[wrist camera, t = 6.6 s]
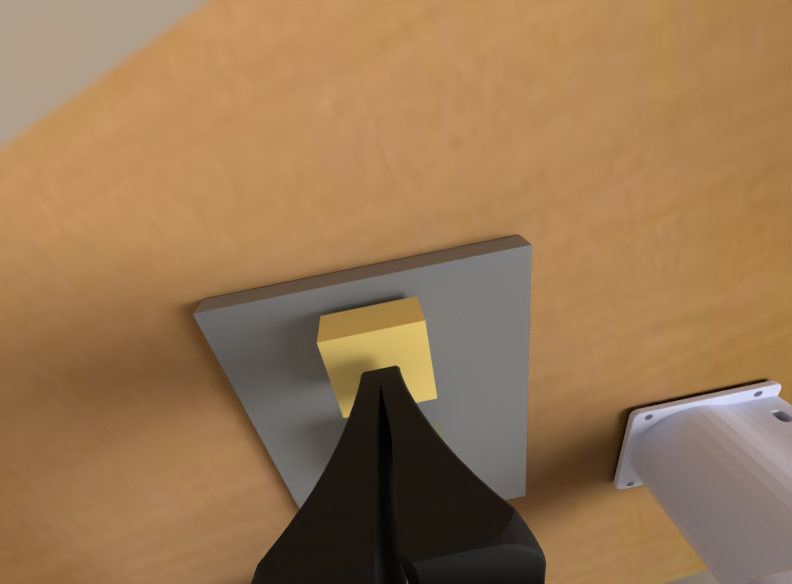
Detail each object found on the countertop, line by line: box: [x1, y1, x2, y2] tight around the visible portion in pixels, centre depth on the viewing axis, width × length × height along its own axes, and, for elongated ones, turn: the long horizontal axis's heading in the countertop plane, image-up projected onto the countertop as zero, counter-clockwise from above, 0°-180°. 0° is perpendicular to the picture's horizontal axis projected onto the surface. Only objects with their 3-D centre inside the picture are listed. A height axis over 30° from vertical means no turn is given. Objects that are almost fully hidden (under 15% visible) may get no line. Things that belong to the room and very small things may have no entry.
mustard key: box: [317, 296, 437, 418], centre depth 15 cm, size 4×4×3 cm
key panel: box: [193, 235, 532, 509], centre depth 19 cm, size 14×18×1 cm
